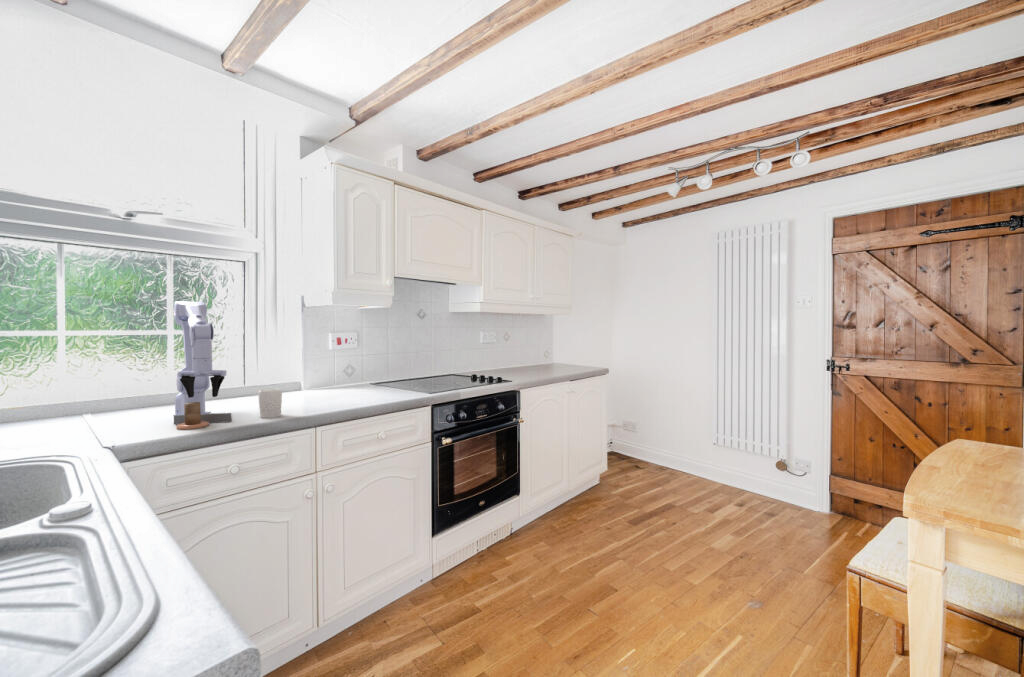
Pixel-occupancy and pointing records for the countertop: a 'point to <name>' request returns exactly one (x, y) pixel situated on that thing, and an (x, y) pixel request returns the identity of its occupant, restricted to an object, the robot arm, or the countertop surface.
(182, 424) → the terracotta coaster
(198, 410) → the walnut peg
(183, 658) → the countertop surface
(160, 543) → the countertop surface
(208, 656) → the countertop surface
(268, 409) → the white cup
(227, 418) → the smoky grey fence
